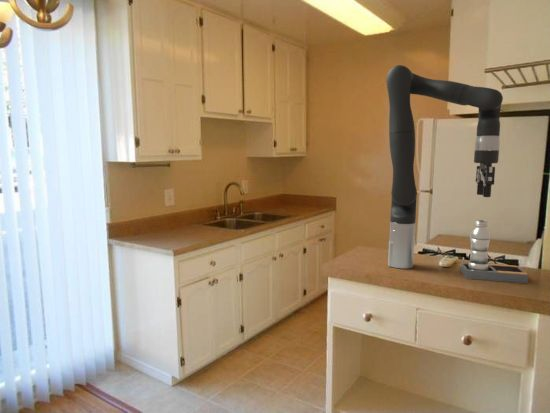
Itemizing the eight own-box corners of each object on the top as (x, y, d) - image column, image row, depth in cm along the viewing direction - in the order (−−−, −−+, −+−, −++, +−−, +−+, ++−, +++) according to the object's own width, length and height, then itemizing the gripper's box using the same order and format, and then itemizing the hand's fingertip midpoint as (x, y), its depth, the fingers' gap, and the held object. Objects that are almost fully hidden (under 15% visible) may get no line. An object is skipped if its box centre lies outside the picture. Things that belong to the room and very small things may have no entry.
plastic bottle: (490, 278, 138) (495, 222, 136) (470, 277, 140) (474, 221, 137) (484, 273, 145) (489, 219, 142) (465, 272, 146) (468, 219, 144)
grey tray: (466, 278, 138) (467, 269, 138) (460, 270, 148) (460, 262, 148) (527, 283, 134) (528, 273, 133) (516, 274, 144) (517, 265, 143)
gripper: (470, 149, 145) (467, 193, 147) (480, 148, 131) (476, 197, 133) (492, 150, 143) (489, 194, 145) (505, 149, 129) (501, 198, 131)
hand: (483, 195), depth 139 cm, fingers open, 8 cm apart
